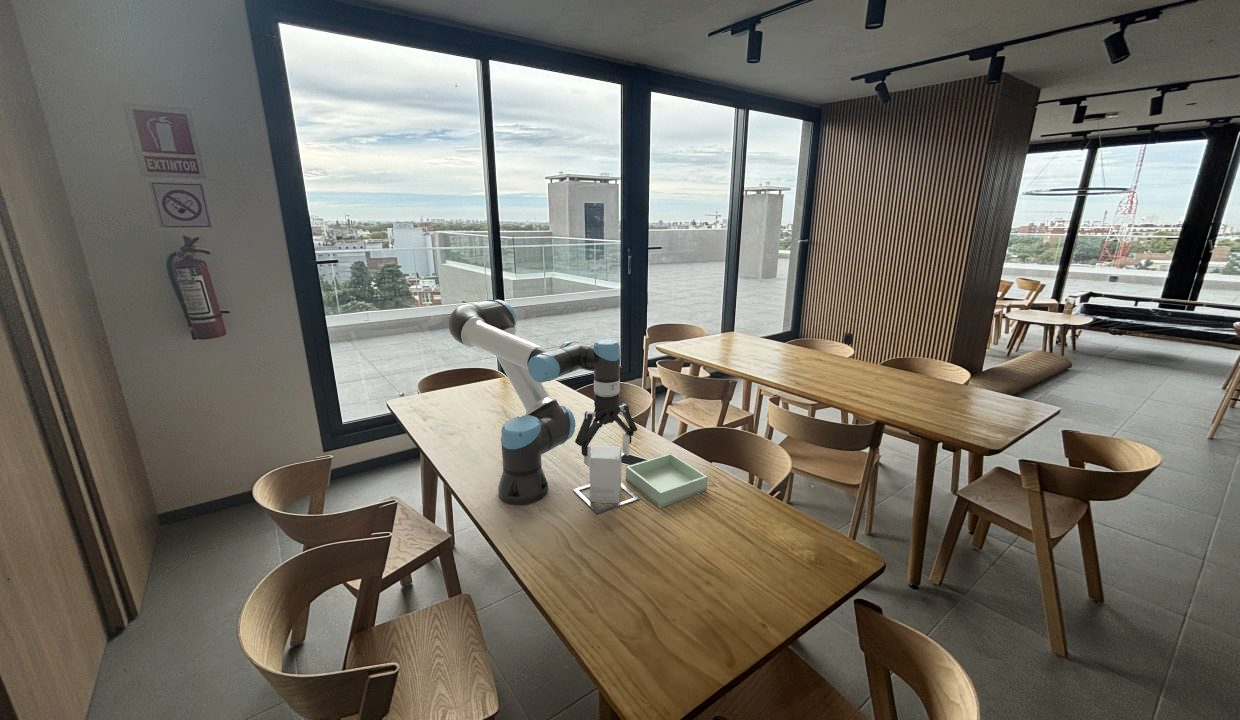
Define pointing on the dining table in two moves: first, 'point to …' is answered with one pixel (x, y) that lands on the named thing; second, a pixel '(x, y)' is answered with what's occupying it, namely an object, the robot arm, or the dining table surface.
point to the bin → (666, 479)
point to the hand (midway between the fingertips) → (607, 459)
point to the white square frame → (633, 499)
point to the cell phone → (631, 459)
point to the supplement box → (605, 474)
